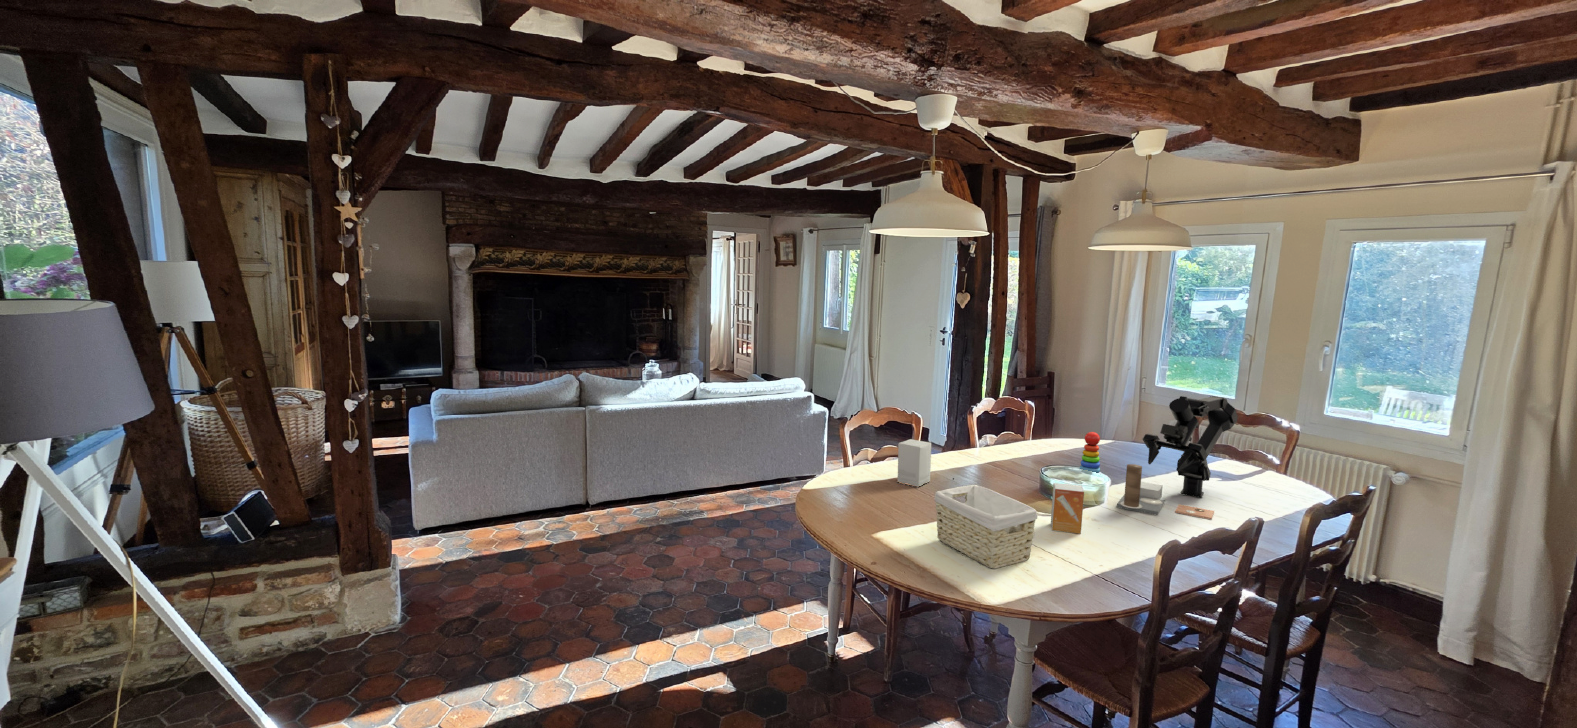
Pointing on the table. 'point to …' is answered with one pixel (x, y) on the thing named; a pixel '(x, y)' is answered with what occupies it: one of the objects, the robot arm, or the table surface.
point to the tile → (1195, 511)
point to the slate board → (1144, 505)
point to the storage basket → (985, 525)
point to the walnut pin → (1132, 485)
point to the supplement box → (914, 462)
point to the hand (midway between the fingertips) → (1162, 467)
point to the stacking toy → (1091, 453)
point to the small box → (1067, 508)
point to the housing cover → (1151, 490)
